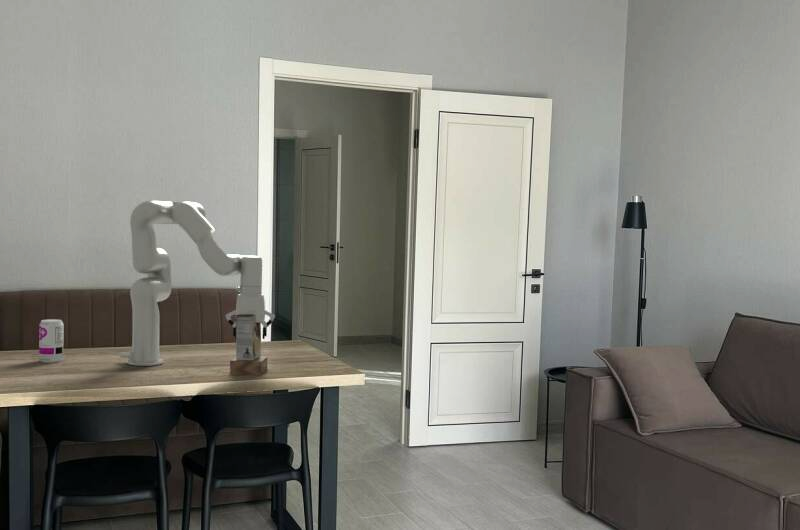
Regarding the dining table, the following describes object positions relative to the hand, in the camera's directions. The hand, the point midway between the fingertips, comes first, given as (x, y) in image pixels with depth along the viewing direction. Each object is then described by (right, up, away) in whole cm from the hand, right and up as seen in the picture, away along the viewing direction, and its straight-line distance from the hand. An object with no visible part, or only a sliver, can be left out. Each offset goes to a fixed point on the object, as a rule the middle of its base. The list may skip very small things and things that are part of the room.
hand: (249, 338), depth 289 cm
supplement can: (-74, -9, +8) cm, 75 cm away
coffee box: (-1, -7, 0) cm, 7 cm away
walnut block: (0, -12, +1) cm, 12 cm away
